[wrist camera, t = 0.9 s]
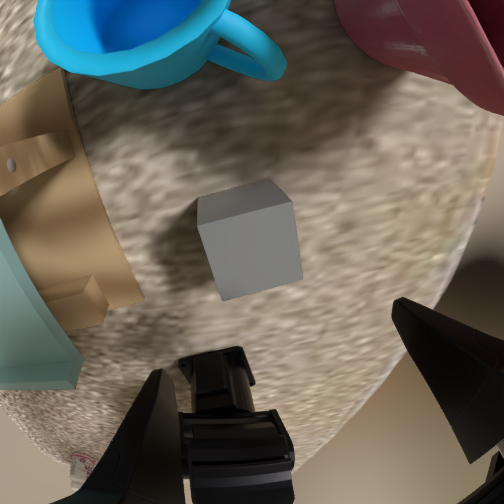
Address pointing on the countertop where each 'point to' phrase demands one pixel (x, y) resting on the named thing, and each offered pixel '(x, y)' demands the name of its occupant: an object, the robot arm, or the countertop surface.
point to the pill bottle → (80, 469)
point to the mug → (152, 40)
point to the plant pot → (435, 41)
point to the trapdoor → (30, 333)
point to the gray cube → (249, 238)
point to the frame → (59, 209)
